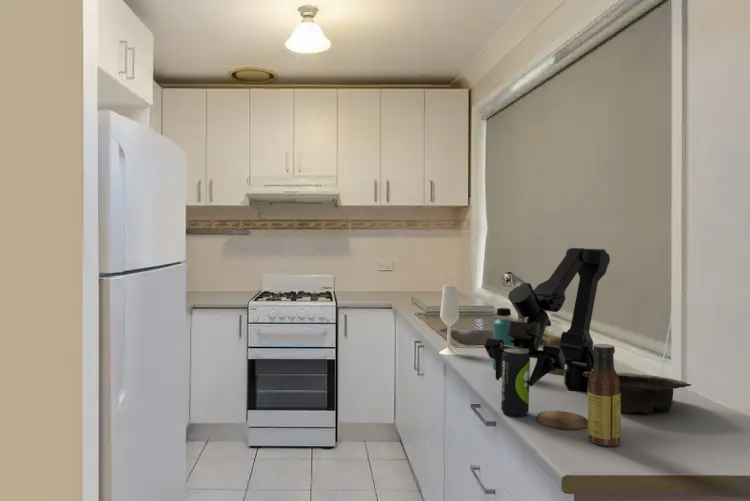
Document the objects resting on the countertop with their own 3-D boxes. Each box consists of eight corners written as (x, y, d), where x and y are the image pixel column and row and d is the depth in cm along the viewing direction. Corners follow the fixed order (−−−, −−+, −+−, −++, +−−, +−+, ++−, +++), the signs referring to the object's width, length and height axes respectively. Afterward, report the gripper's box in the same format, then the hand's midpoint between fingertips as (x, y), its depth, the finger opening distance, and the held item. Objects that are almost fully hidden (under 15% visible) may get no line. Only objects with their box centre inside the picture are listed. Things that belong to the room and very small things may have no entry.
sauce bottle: (612, 436, 119) (615, 342, 119) (626, 448, 113) (629, 348, 112) (581, 436, 119) (583, 342, 118) (593, 447, 113) (596, 348, 112)
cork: (563, 370, 179) (564, 335, 179) (567, 374, 173) (568, 338, 173) (543, 369, 180) (544, 334, 179) (547, 374, 174) (548, 338, 173)
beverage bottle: (508, 377, 168) (509, 310, 167) (488, 374, 172) (489, 308, 171) (518, 373, 173) (518, 308, 172) (497, 370, 177) (498, 306, 177)
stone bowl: (627, 423, 127) (626, 382, 128) (562, 400, 151) (561, 365, 152) (716, 415, 134) (715, 375, 134) (640, 394, 158) (639, 360, 158)
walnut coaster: (583, 416, 133) (583, 412, 133) (592, 431, 122) (592, 428, 122) (534, 412, 135) (534, 409, 135) (539, 427, 124) (539, 424, 124)
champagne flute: (455, 355, 198) (457, 286, 197) (436, 353, 200) (438, 285, 200) (460, 352, 204) (461, 285, 203) (441, 350, 207) (443, 284, 206)
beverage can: (496, 410, 136) (497, 347, 136) (519, 408, 138) (520, 346, 137) (510, 418, 130) (511, 353, 130) (533, 416, 132) (535, 352, 132)
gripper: (488, 305, 142) (466, 356, 133) (562, 312, 131) (544, 368, 122) (500, 332, 149) (480, 383, 140) (572, 341, 137) (555, 396, 129)
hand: (513, 382), depth 133 cm, fingers open, 8 cm apart
